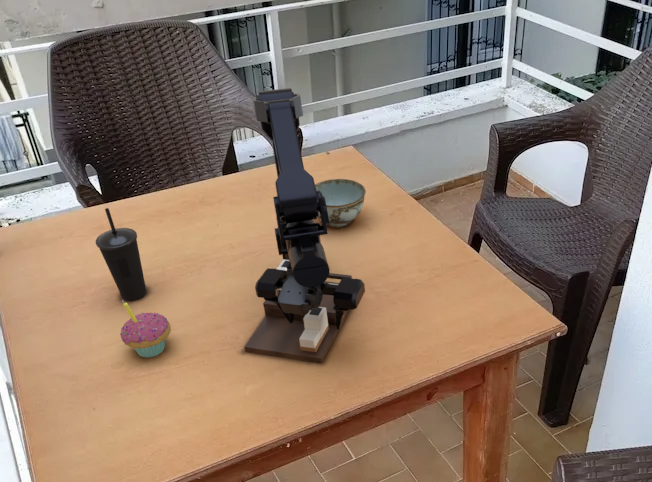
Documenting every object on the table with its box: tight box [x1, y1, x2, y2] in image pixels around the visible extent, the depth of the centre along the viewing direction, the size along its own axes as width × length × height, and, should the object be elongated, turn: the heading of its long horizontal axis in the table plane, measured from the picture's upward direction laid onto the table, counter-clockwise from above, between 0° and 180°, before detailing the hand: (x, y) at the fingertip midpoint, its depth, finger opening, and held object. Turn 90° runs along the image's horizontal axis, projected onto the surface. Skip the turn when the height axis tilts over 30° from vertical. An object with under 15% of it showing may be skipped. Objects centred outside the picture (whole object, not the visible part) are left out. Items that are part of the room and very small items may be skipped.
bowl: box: [315, 178, 367, 228], centre depth 163 cm, size 14×13×8 cm
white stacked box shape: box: [299, 307, 329, 352], centre depth 126 cm, size 7×3×5 cm, turn 167°
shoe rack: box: [244, 272, 353, 364], centre depth 131 cm, size 15×19×6 cm
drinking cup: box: [95, 207, 147, 302], centre depth 136 cm, size 8×8×20 cm
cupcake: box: [119, 299, 172, 359], centre depth 124 cm, size 9×8×12 cm
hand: (315, 325), depth 127 cm, fingers open, 9 cm apart
